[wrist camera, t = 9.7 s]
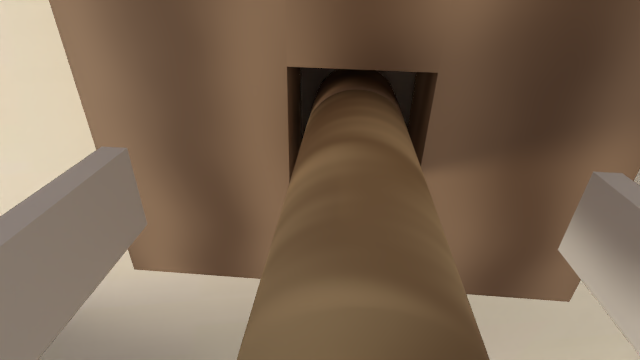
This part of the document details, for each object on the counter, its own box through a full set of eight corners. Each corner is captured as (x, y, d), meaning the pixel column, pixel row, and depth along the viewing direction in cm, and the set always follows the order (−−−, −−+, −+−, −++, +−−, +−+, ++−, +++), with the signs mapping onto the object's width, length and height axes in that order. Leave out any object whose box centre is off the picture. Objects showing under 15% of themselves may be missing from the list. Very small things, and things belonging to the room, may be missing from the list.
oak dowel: (313, 142, 19) (244, 447, 7) (314, 63, 17) (218, 295, 5) (390, 146, 19) (463, 469, 6) (401, 67, 17) (534, 319, 4)
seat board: (168, 223, 22) (134, 269, 19) (92, -101, 14) (9, -125, 11) (533, 247, 21) (569, 301, 18) (674, -93, 13) (790, -116, 10)
